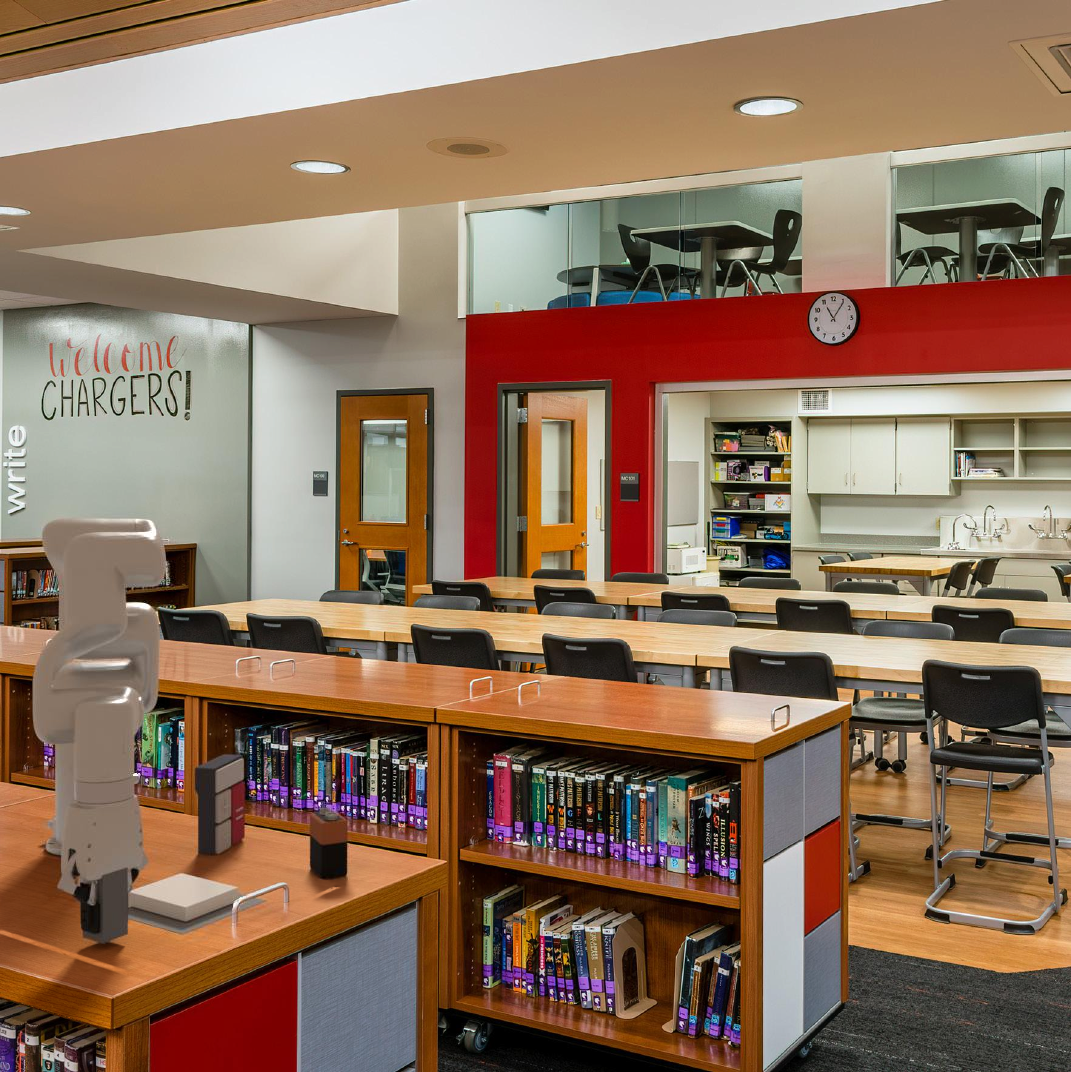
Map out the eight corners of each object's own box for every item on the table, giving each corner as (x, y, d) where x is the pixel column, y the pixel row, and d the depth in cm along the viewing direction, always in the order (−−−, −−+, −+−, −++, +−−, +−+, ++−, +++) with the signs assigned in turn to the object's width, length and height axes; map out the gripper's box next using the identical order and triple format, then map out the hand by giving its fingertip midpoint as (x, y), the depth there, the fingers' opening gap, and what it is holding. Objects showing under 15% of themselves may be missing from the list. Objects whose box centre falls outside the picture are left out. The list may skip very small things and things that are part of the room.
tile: (127, 891, 171) (185, 907, 165) (181, 873, 180) (238, 887, 173) (127, 907, 171) (185, 923, 165) (181, 887, 180) (238, 902, 173)
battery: (321, 880, 185) (322, 817, 185) (308, 868, 191) (309, 807, 191) (348, 876, 187) (348, 814, 187) (334, 864, 193) (335, 804, 193)
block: (82, 937, 156) (82, 870, 156) (107, 928, 160) (107, 862, 160) (102, 943, 154) (102, 875, 154) (127, 934, 158) (127, 867, 158)
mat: (86, 909, 171) (86, 906, 171) (172, 879, 185) (172, 876, 185) (182, 937, 161) (182, 934, 161) (266, 903, 175) (266, 900, 175)
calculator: (218, 858, 196) (218, 769, 195) (194, 856, 197) (194, 767, 196) (247, 839, 207) (247, 754, 206) (224, 837, 208) (224, 753, 207)
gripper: (135, 774, 166) (136, 902, 166) (31, 799, 151) (31, 940, 152) (173, 781, 162) (173, 913, 162) (69, 808, 147) (69, 952, 148)
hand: (104, 924), depth 157 cm, fingers closed on block, 3 cm apart
